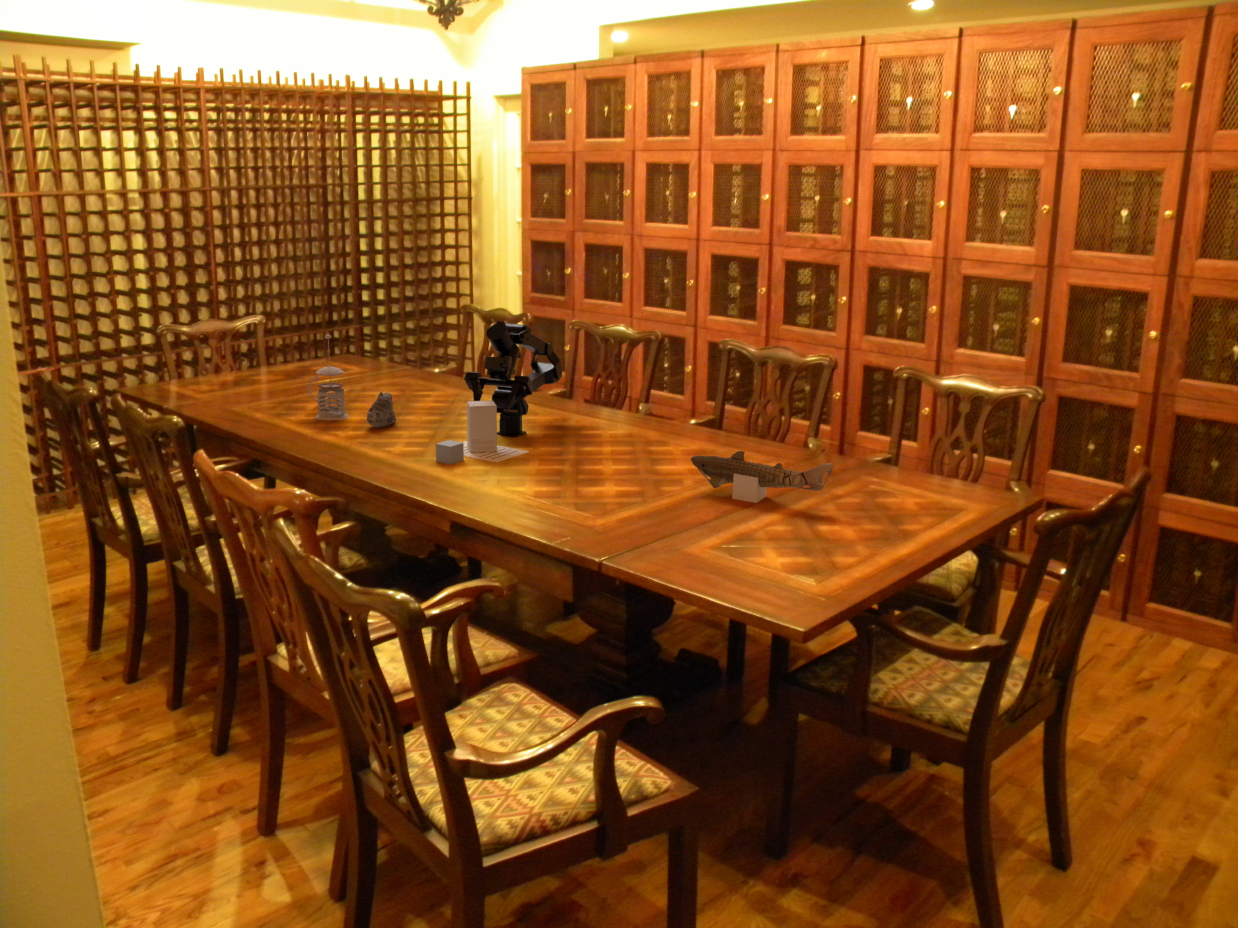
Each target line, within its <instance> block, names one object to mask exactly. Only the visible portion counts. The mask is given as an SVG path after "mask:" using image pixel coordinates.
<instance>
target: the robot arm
mask: <svg viewBox="0 0 1238 928" xmlns="http://www.w3.org/2000/svg"><path fill="white" fill-rule="evenodd" d="M532 332H533V329H531V328H530V326H528V324H519V323H509V322H508V323H506V322H505V320H497V322H496V323H494V324H492V325H491V326H490V327H488V328H487V329H486V332H485V335H486V338H487V339H488V341H489V343H490V345H491V346H492V348H493V349H494V351H495V352H497V354H496V356H490V355H489V356H485V358H484V365H483V368H484V369H485V370H487V371H486V374H487V376H489V377H486V376H485V377H484V376H482V374H481V372H480V371H470V370H469V371H467V372H466V373H465V374H464V377H463V380H464V381H465V383H466V385H467V388H468V389H469V390H470V391H472V394H473V395H472V396H473V398H472V399H473V401H481V399H482V396H483V393H484V391H483V390H484V388H485V386H495V387H497V388H496V389H495V390H494V391H493V393H492V396H491V401H494V403H495V404H496V406H497V414H499V420H498V421H499V431H497V436H498V435H499V436H503V437H510V438H515V437H519V436H521V435H526V434H527V431H526V430H523V416H526V415H528V412H529V404H528V402H527V401H526V398H527V397H528V396H531V395H533V393H535V391H537V390H539V388H541V387H542V386H545V385H554V384H557V383H558V382H559V381H560V380H561V378H562V376H563V368H562V363H561V359H560V358H559V357H558V355H557V354H556V353H555V351H554V348H553V345H552V343H550V342H548V341H545V340H543V339H542V338H540V337H539V336H537V335H535V334H533V333H532ZM519 346H521V347H523V348H525V349H526V350H528V351H531V352H532V354H533V357H532V360H531V362H530V368H531V373H530V374H528V375H521V374H520V375H518V374H516V372H517V371H516V370H515V369H516V365H517V362H518V359H521V358H522V353H521V349H520V347H519ZM538 356H546V357H547V359H548V360H549V362H542V361H538ZM515 374H516V375H515ZM513 375H515V376H514V379H512V377H513Z"/></svg>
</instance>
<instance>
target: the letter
mask: <svg viewBox="0 0 1238 928" xmlns="http://www.w3.org/2000/svg"><path fill="white" fill-rule="evenodd" d="M462 443H464V457H468V458H473V459H478V460H481V461H482V460H483V461H488V462H492V463H499V462H502V461H505V460H508V459H511V458H514V457H517V456H521V455H524V454H527V453H529V452H530V451H529V450H525V449H523V450H522V449H518V448H515V447H514V448H513V447H509V446H504V445H498V444H497V451H496V452H470V450H469V448H468V446H467V440H465V441H462Z"/></svg>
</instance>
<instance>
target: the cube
mask: <svg viewBox="0 0 1238 928" xmlns="http://www.w3.org/2000/svg"><path fill="white" fill-rule="evenodd" d="M462 442H463V441H462ZM462 442H460V441H456V440H451V439H447V440H443V441H440V442H438V443H435V461H436V462H438V463H442V464H446V465H454V464H457V463H461V462H463V461H464V460H465V456H464V443H462Z"/></svg>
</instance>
